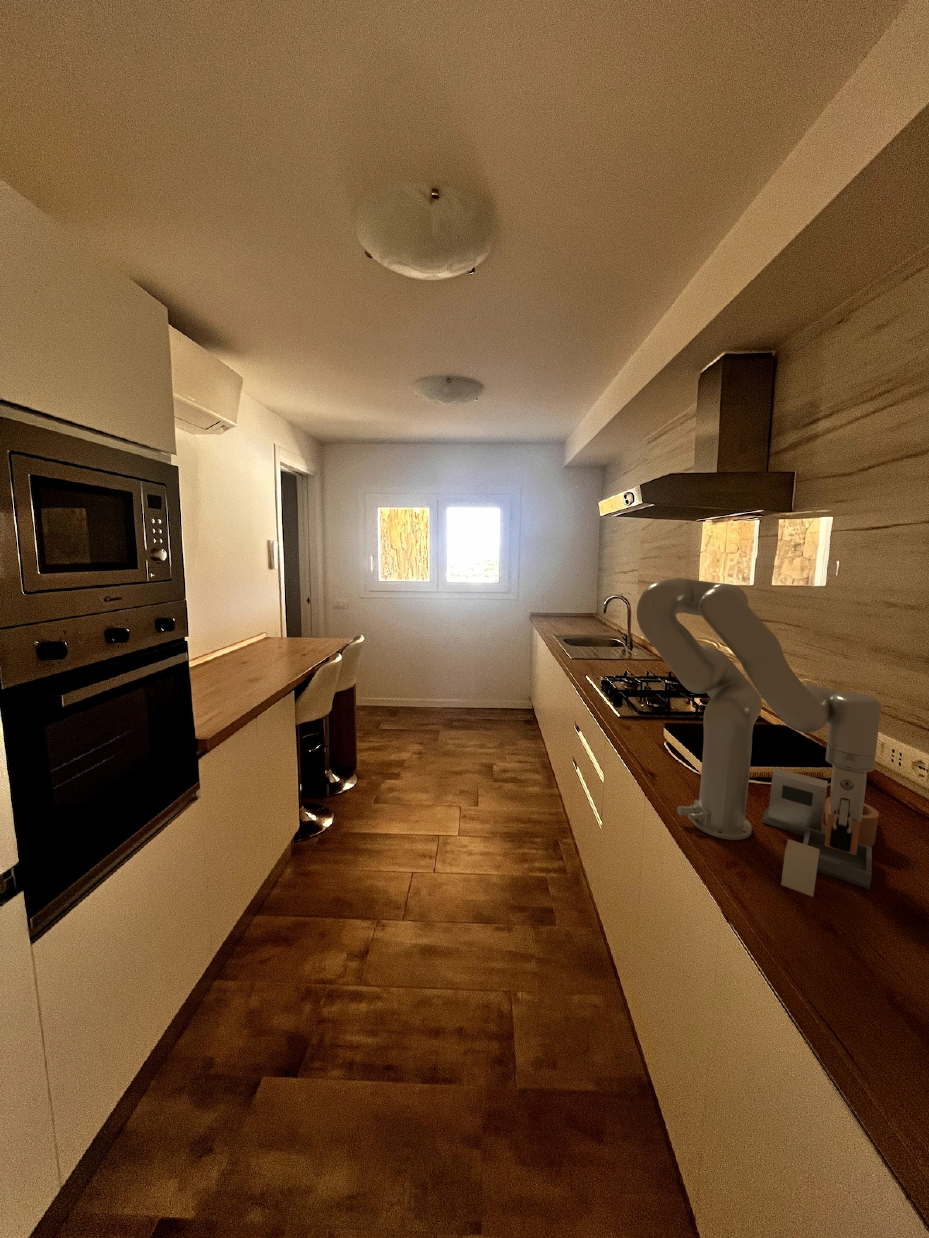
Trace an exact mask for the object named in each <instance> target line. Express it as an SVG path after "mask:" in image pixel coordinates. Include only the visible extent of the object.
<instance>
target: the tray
mask: <svg viewBox="0 0 929 1238" xmlns="http://www.w3.org/2000/svg"><path fill="white" fill-rule="evenodd" d="M825 836H826V833H824V832H820V831H817V830H814V829H811V828H806V832H805V836H803V842H802V844H805V845H808V846H811V847H814V848H817V849H820V850H819V858H818V866H817V873H821V874H823V875H825V876H829V877H832V878H835V879H838V880H840V881H844V882H847V883H850V884H852V885H855V886H858V887H860V888H864V889H865V890H866V889H867V890H870V888H871V882H872V875H873V874H872V873H873V869H872V868H873V867H872V866H873V865H872V862H873V861H872V859H873V858H872V854H873V853H872V852H873V851H872V849H873V846H871V847H869V846H866V845H863V844H860V843H858V844H857V853H856V855H853V854H850V853H846V852H843V851H840V850H837V849H833V848H830V847H827V846H824V845H825Z"/></svg>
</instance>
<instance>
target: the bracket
mask: <svg viewBox="0 0 929 1238" xmlns="http://www.w3.org/2000/svg"><path fill="white" fill-rule="evenodd" d="M829 804H830V796H828V797H826V799H825V807H824V814H825V815H824V816H825V823H826V824H825V825H827V818H828V810H829ZM879 817H880V813H879V811H878V810H876V808H874V807H873V806H871V805H869V804H867V803H865V802H864V805H863V813H862V821H861V822H860V828H859V836H858V843H860V844H863V845H866V846H869V847H873V846H874V845H875V843H876V838H877V837H876V836H877V831H878V830H877V829H878V824H879V823H878V822H879Z"/></svg>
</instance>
